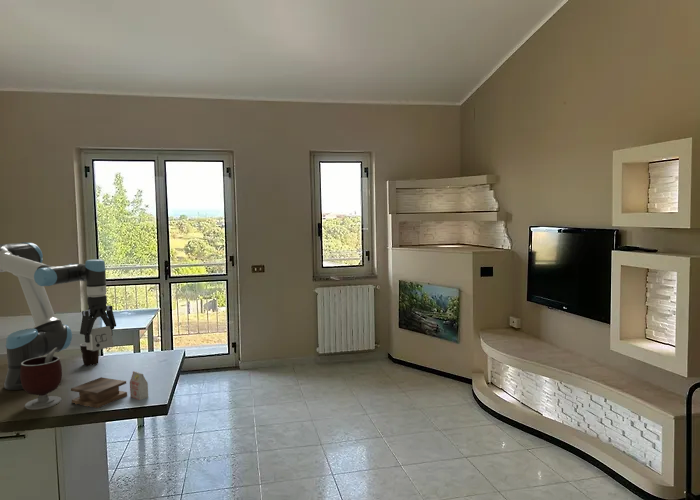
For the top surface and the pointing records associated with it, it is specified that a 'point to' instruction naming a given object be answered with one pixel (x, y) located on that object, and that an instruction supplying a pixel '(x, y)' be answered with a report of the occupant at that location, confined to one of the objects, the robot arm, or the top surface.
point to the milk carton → (138, 386)
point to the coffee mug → (89, 355)
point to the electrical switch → (101, 338)
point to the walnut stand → (99, 392)
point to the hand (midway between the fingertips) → (99, 346)
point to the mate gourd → (41, 380)
